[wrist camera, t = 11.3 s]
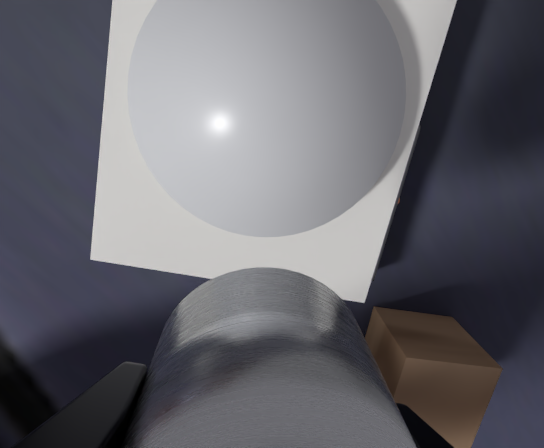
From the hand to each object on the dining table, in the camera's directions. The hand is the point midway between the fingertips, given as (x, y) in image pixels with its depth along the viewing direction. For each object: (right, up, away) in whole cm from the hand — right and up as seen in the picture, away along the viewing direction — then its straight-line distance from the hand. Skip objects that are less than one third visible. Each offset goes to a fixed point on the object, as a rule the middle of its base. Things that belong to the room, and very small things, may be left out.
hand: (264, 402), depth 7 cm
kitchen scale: (0, +8, +11) cm, 13 cm away
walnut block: (+7, -4, +15) cm, 17 cm away
